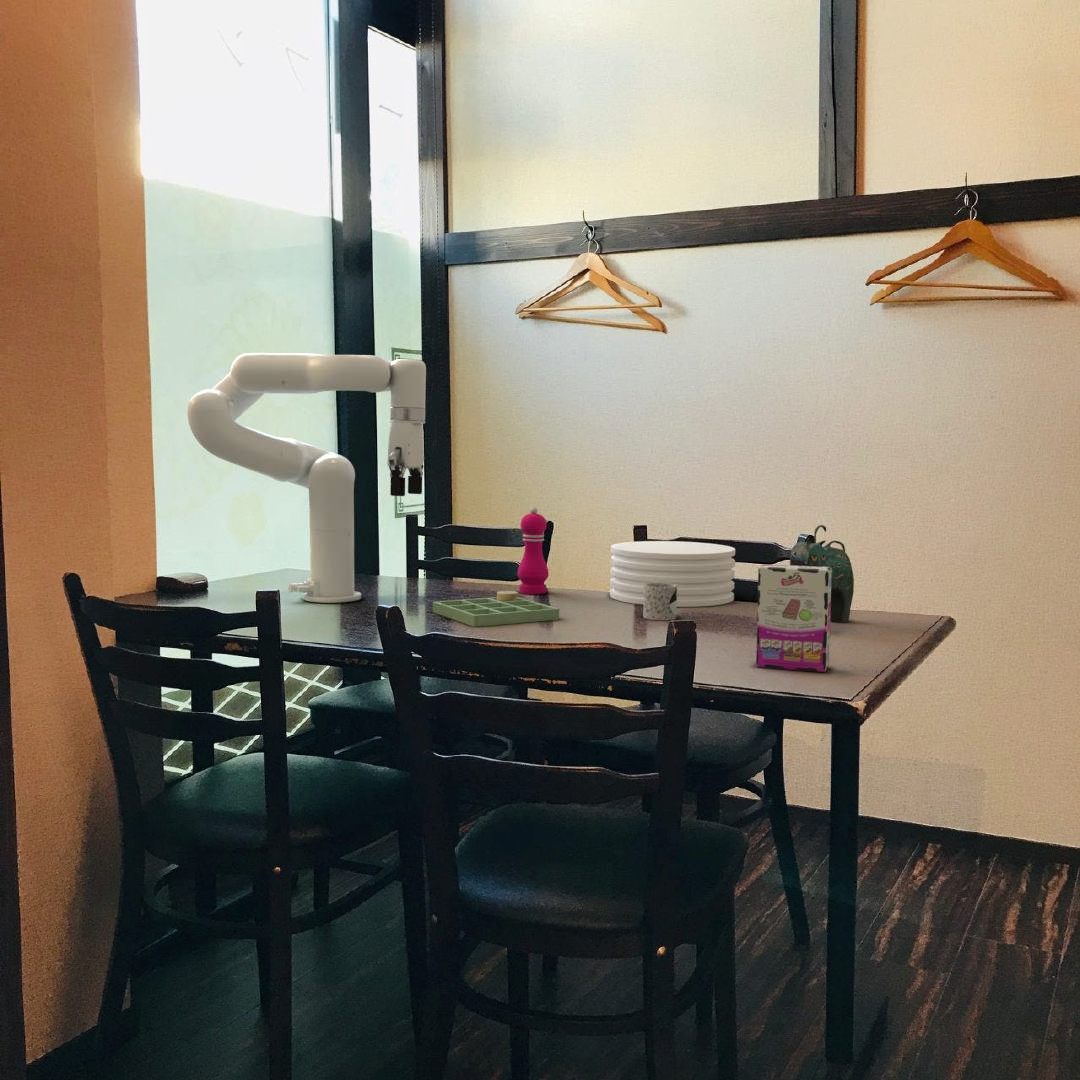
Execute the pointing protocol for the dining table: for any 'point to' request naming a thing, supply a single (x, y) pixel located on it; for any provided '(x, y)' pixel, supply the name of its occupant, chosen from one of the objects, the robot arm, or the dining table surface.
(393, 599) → the dining table surface
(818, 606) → the candy bar box
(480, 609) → the grid
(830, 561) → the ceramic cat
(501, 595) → the token
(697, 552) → the plate stack
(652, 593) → the mug
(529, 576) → the pepper mill
